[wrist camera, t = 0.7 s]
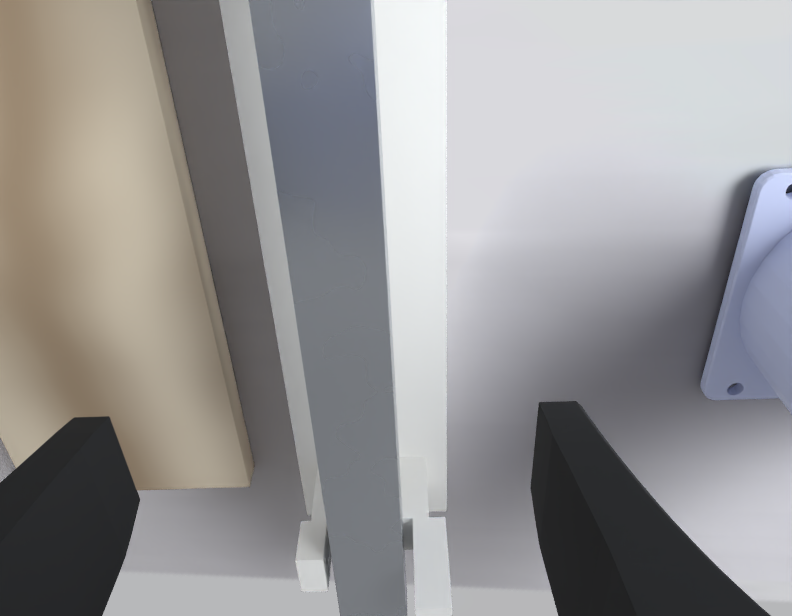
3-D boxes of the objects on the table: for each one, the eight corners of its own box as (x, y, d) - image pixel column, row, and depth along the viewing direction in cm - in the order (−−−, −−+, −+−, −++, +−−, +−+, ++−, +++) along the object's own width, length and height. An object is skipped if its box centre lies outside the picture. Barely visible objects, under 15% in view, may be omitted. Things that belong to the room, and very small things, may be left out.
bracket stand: (441, -302, 13) (477, -432, 7) (444, 479, 25) (459, 664, 19) (188, -288, 13) (26, -406, 8) (311, 483, 25) (286, 668, 20)
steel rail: (349, -449, 9) (341, -502, 8) (407, 592, 23) (407, 638, 21) (206, -442, 9) (174, -493, 8) (346, 594, 23) (343, 639, 21)
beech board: (102, -218, 14) (83, -224, 13) (254, 465, 25) (249, 486, 24) (-276, -198, 14) (-318, -202, 13) (40, 472, 25) (28, 493, 24)
